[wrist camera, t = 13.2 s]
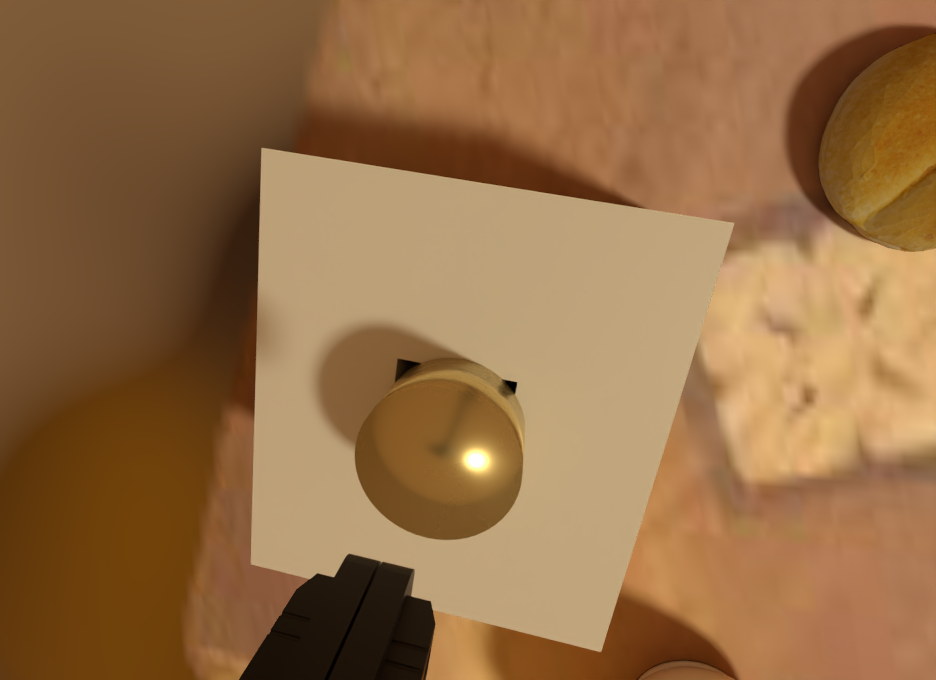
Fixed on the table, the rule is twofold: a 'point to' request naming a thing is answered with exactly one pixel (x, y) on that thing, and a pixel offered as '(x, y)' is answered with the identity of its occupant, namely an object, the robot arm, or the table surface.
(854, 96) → the bread roll
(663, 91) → the table surface
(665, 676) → the lidded bowl
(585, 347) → the pin block
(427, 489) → the brass-head pin
